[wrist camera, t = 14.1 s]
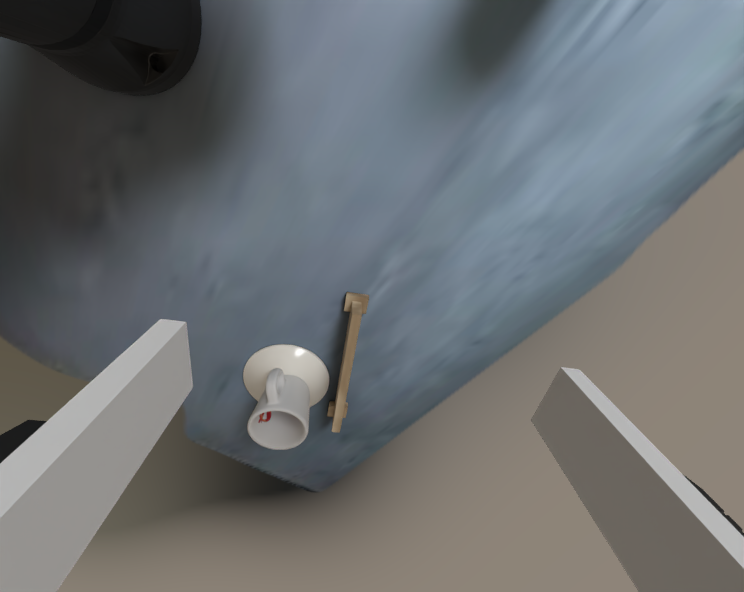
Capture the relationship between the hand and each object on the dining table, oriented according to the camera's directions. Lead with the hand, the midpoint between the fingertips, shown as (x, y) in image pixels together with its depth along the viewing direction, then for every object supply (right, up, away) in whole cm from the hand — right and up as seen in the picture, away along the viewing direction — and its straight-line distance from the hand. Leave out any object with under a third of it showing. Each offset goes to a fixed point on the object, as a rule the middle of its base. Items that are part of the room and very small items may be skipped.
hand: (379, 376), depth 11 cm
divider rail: (-4, -7, +35) cm, 36 cm away
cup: (-13, -10, +36) cm, 40 cm away
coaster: (-13, -10, +36) cm, 40 cm away
